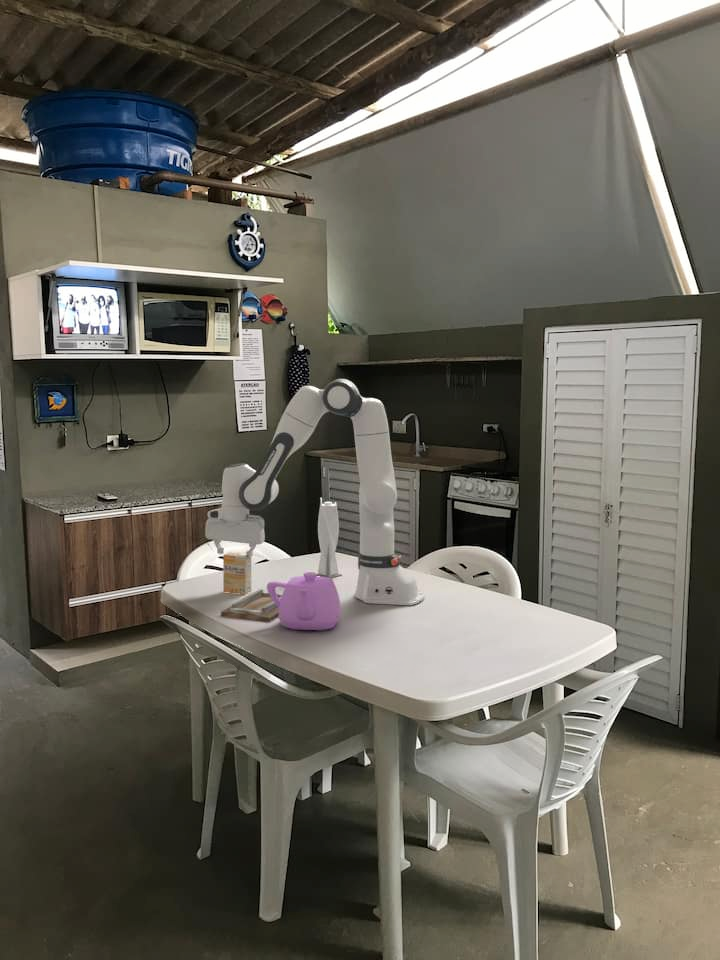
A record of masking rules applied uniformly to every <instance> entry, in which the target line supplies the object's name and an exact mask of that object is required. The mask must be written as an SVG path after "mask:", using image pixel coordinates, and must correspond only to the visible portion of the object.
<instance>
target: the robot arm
mask: <svg viewBox="0 0 720 960" xmlns="http://www.w3.org/2000/svg"><path fill="white" fill-rule="evenodd" d="M328 412H330V413H332V414H334V415H339V416H343V417H348V418H350V419H351V421H352V425H353V426H352V428H353V433H354V434H353V436H354V444H355V454H356V463H357V469H358V476H359V484H360V485H359V490H358V496H359V497H358V501H359V503H358V506H359V507H358V508H359V552H358V556H357V566H358V577H357V585H356V589H355V592H354V597H355V598H357V599H358V600H360V601H362V602H363V603H365V604H375V605H377V604H378V605H397V606H414V604H415V605H418V604H419V602H420V601H421V602H423V601H424V599H425V593H424V592H422V591H418V584H417V583H418V582H417V580H416V578H415V576H414V575H413V574H411V573H410V572H408V571H407V569H405V568H404V567H403V566H402V565H401V557H402V555H398V554H397V553H395V520H394V518H395V517H394V507H395V505H396V503H397V500H398V490H397V483H396V476H395V469H394V464H393V458H392V449H391V447H392V446H391V439H390V428H389V422H388V421H389V420H388V418H387V413H386V408H385V405H384V404H383V402H382V401H381V400H379V399H378V398H374V397H364V396H362V395H361V394H360V390H359V388H358V386H357V385H356V384H355V383H354V382H352V381H351V380H349V379H346V378H338V379H335V380H332V381H330V382H329V383H327V384H326V386H325V387H324V389H320V388H318V387H317V386H314V385H303V386H301V387H300V388H299V389H298V391H296V393H295V395H294V396H293V397H292V398H291V399H290V401H289V403H288V404H287V406H286V407H285V410H284V411H283V414H282V415H281V418H280V420H279V422H278V424H277V428H276V430H275V433H274V435H273V438H272V441H271V443H270V445H269V448H268V449H267V451H266V453H265V455H264V456H263V458H262V460H261V462H260V463H259V464H258V467H257V469H256V470H255V469H254V468H252V467H251V466H250V465H249V464H247V463H244V462H243V463H235V464H234V463H233V464H230V465H228V466H226V467H225V468H224V470H223V473H222V482H221V483H222V484H221V491H222V492H221V493H222V501H221V507H217V508H215V509H212V510H209V511H208V512H207V517H208V518H207V520H206V522H205V528H204V529H205V530H204V535H205V538H206V539H207V540H212V541H213V543H214V545H215V548H216V553H217V554H218V555H219V554H221V555H222V554H223V555H224V554H225V553H224V552H225V548H224V547H222V545H221V542H222V541H224V542H231V543H239V544H247V545H248V546H249V550H247V551H246V552H245V554H246V556H247V557H251V558H252V557H253V554H254V553H253V551H254V550H255V549H256V547H257V545H258V546H259V545H262V544H263V543H264V542H265V540H266V539H265V538H266V535H265V520H264V518H263V517H261V516H260V515H254V514H250V511H252V512H259V511H262V510H264V509H265V508H266V507H267V506H268V505H269V504H271V503H272V502H273V501H274V500H275V499H276V498H277V497H278V495H279V493H280V487H279V483H278V481H277V480H276V478H277V476H278V474H280V471H281V470H282V467H283V466H284V464H285V462H286V461H287V460H288V458H290V456H291V455H292V454H293V453H295V452H296V451H298V449H300V448H301V447H302V446H304V445H305V444H306V443H307V441H308V440H309V438H310V437H311V436H312V435H313V433H314V431H315V429H316V428H317V425H318V423H319V421H320V419H321V418H322V417H323V415H324V414H326V413H328ZM421 602H420V603H421ZM417 603H418V604H417Z"/></svg>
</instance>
